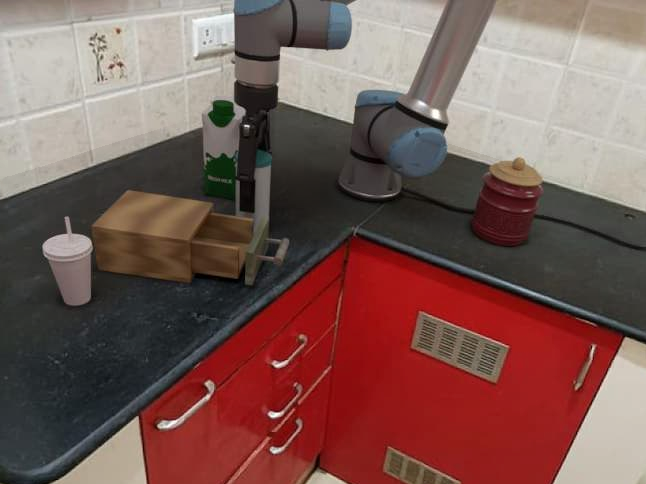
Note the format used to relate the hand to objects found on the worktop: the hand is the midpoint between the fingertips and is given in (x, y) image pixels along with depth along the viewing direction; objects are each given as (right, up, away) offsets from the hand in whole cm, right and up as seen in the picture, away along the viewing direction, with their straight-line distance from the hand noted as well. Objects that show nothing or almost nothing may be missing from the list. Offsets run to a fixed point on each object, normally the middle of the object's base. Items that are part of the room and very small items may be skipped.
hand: (253, 199), depth 108 cm
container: (-1, -5, +3) cm, 6 cm away
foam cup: (-13, +17, +33) cm, 39 cm away
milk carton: (-9, +4, +15) cm, 18 cm away
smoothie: (-22, -19, -22) cm, 37 cm away
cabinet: (-14, -11, -10) cm, 21 cm away
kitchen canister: (+51, -5, +17) cm, 54 cm away
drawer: (-2, -12, -10) cm, 16 cm away
